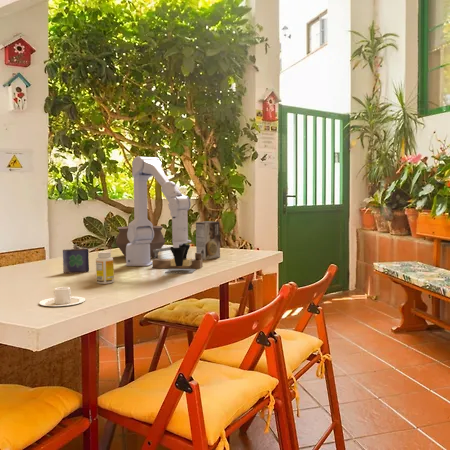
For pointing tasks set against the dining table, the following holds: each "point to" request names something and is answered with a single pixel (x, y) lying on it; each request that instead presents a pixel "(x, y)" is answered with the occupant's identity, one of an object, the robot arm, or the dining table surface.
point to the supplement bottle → (104, 268)
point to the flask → (75, 260)
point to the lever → (159, 251)
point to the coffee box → (208, 239)
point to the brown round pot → (155, 243)
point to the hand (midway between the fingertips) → (180, 265)
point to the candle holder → (62, 297)
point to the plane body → (167, 264)
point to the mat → (180, 271)
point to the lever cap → (185, 262)
